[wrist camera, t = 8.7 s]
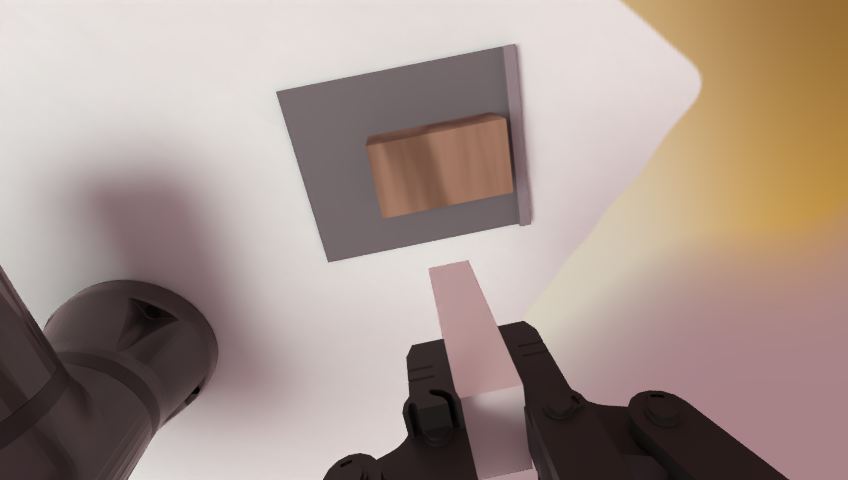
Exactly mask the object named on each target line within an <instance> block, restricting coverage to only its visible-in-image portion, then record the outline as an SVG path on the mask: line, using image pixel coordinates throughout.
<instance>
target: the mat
mask: <svg viewBox="0 0 848 480" xmlns="http://www.w3.org/2000/svg"><path fill="white" fill-rule="evenodd" d="M276 93H277V96H278V100H279V103H280V106H281V110H282V113H283V116H284V119H285V123H286V126H287V129H288V132H289V136H290V139H291V142H292V145H293V149H294V152H295V155H296V159H297V162H298V165H299V168H300V172H301V175H302V178H303V181H304V185H305V188H306V191H307V194H308V198H309V201H310V204H311V208H312V211H313V214H314V217H315V221H316V224H317V227H318V230H319V234H320V237H321V240H322V243H323V247H324V250H325V253H326V257H327V260H328V262H333V261H338V260H342V259H347V258H352V257H357V256H362V255H367V254H372V253H377V252H381V251H386V250H391V249H396V248H401V247H406V246H411V245H416V244H421V243H425V242H430V241H435V240H440V239H445V238H450V237H455V236H460V235H464V234H469V233H474V232H479V231H484V230H489V229H494V228H499V227H503V226H508V225H513V224H519V225H520V226H525V225H530V224H531V219H530V207H529V196H528V184H527V173H526V161H525V150H524V138H523V127H522V115H521V104H520V92H519V81H518V70H517V58H516V47H515V44H513V45H508V46H503V47H498V48H493V49H488V50H483V51H478V52H473V53H468V54H463V55H458V56H453V57H448V58H443V59H438V60H433V61H428V62H423V63H418V64H413V65H408V66H403V67H398V68H393V69H388V70H383V71H378V72H373V73H368V74H363V75H358V76H353V77H347V78H342V79H337V80H332V81H327V82H322V83H317V84H312V85H307V86H302V87H297V88H292V89H287V90H282V91H277V92H276ZM487 112H492V113H494V114H497V115H499V116H502V117H504V118H506V124H507V134H508V144H509V154H510V163H511V173H512V183H513V192H512V193H507V194H503V195H498V196H493V197H488V198H483V199H478V200H473V201H468V202H463V203H458V204H454V205H449V206H444V207H439V208H434V209H429V210H424V211H419V212H414V213H409V214H405V215H400V216H395V217H390V218H385V219H383V218H382V214H381V210H380V206H379V202H378V197H377V193H376V189H375V185H374V181H373V176H372V172H371V168H370V164H369V160H368V155H367V151H366V147H365V146H366V142H367V137H368V136H373V135H378V134H383V133H388V132H393V131H398V130H403V129H408V128H413V127H418V126H423V125H428V124H433V123H438V122H443V121H448V120H453V119H458V118H463V117H467V116H472V115H477V114H482V113H487Z"/></svg>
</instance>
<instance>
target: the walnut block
mask: <svg viewBox="0 0 848 480" xmlns="http://www.w3.org/2000/svg"><path fill="white" fill-rule="evenodd" d="M365 147H366V151H367V155H368V160H369V164H370V168H371V172H372V176H373V181H374V185H375V189H376V193H377V197H378V202H379V206H380V210H381V214H382V218H383V219H385V218H390V217H395V216H400V215H405V214H409V213H414V212H419V211H424V210H429V209H434V208H439V207H444V206H449V205H454V204H458V203H463V202H468V201H473V200H478V199H483V198H488V197H493V196H498V195H503V194H507V193H512V192H513V183H512V173H511V163H510V154H509V144H508V134H507V124H506V118H504V117H502V116H499V115H497V114H494V113H492V112H487V113H482V114H477V115H472V116H467V117H463V118H458V119H453V120H448V121H443V122H438V123H433V124H428V125H423V126H418V127H413V128H408V129H403V130H398V131H393V132H388V133H383V134H378V135H373V136H368V137H367V142H366V146H365Z"/></svg>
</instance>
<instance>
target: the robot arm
mask: <svg viewBox="0 0 848 480" xmlns="http://www.w3.org/2000/svg"><path fill="white" fill-rule="evenodd" d="M428 269H429V274H430V279H431V284H432V289H433V293H434V298H435V303H436V308H437V313H438V318H439V323H440V328H441V333H442V338H443V339H440V340H435V341H430V342H426V343H421V344H416V345H412V347H411V349H410V351H409V353H408V355H407V357H406V358H407V370H408V381H409V383H408V384H409V397H408V399H407V400H406V402H405V403H404V407H403V412H402V413H403V417H404V420H405V424H406V428H407V431H408V436H407V438H406V439H405V441H404V442H403V443H402V444H401V445H400V446H399V447H398V448H396V449H395V450H393V451H392V452H390V453H389V454H387V455H385V456H383V457H381V458H379V459H377V460H376V459H375V458H373V457H372V456H371V455H367V454H362V453H358V454H353V455H348V456H346V457H345V458H343V459H341V460H339V461H337V462H336V463H335V464H334V465H333V466H332V467H331V468H330V469H329V470H328V472H327V474H326V475H325V477H324V479H323V480H481V479H486V478H491V477H495V476H500V475H505V474H510V473H514V472H519V471H524V470H528V469H532V460H533V463H534V465H535V468H536V471H537V473H538V480H789V479H787V478H786V477H785V476H783V475H782V474H781V473H780V472H778V471H777V470H776V469H774V468H773V467H772V466H770V465H769V464H768V463H766V462H765V461H764V460H762V459H761V458H760V457H759V456H757V455H756V454H755V453H753V452H752V451H750V450H749V449H748V448H747V447H745V446H744V445H743V444H741V443H740V442H739V441H737V440H736V439H735V438H734V437H732V436H730V434H728V433H727V432H726V431H724V430H723V429H722V428H720V427H719V426H717V424H715V423H714V422H713V421H711V420H710V419H709V418H707V417H706V416H705V415H703V414H702V413H701V412H699V411H698V410H697V409H696V408H694V407H693V406H691V405H690V404H689V403H688V402H686V401H685V400H683V399H681V398H679V397H678V396H676V395H674V394H670V393H667V392H663V391H651V390H649V391H645V392H640V393H638V394H636V395H635V396H634V397H632V398H631V400H630V403H629V405H628V407H624V406H623V407H622V406H607V405H600V404H595V403H592V402H589V401H587V400H586V399H585V398H584V397H583V396H582V395H581V394H579V393H578V392H576V391H574V390H572V389H571V388H570V386H569V385H568V383H567V381H566V380H565V378H564V376H563V374H562V373H561V371H560V369H559V368H558V366H557V364H556V362H555V361H554V359H553V357H552V356H551V354H550V353H549V351H548V349H547V347H546V345H545V344H544V343H543V340H542V338H541V337H540V335H539V333H538V331H537V330H536V329H535V328H533V327H532V326H531V325H529V324H528V323H526V322H525V321H521V322H516V323H511V324H507V325H502V326H497V325H496V322H495V320H494V318H493V315H492V313H491V311H490V309H489V306H488V304H487V302H486V300H485V297H484V295H483V293H482V290H481V288H480V286H479V284H478V281H477V279H476V277H475V274H474V272H473V270H472V268H471V265H470V263H469V261H468V260H467V261H462V262H457V263H452V264H448V265H443V266H438V267H433V268H428ZM217 357H218V349H217V343H216V339H215V336H214V333H213V331H212V329H211V327H210V325H209V324H208V322H207V321H206V319H205V318H204V317H203V315H202V314H201V313H200V312H199V311H198V310H197V309H196V308H195V307H194V306H193V305H191V304H190V303H189V302H187V301H186V300H185V299H183V298H182V297H180V296H178V295H177V294H175V293H173V292H171V291H169V290H166V289H164V288H161V287H158V286H155V285H152V284H148V283H143V282H137V281H110V282H104V283H100V284H96V285H93V286H91V287H88V288H86V289H84V290H82V291H81V292H79V293H78V294H76V295H75V296H74V297H72V298H71V299H70V300H68V301H67V302H66V303H64V304H63V305H62V306H60V307H59V308H58V309H57V310H56V311H55V312H54V313H53V315H52V316H51V317H50V318H49V320H48V321H47V323H46V325H45V328H44V330H43V332H42V330H41V329H40V327H39V326H38V324H37V323H36V321H35V320H34V318H33V317H32V315H31V313H30V312H29V310H28V309H27V307H26V306H25V304H24V303H23V301H22V300H21V298H20V296H19V295H18V293H17V292H16V290H15V288H14V287H13V285H12V283H11V282H10V280H9V279H8V277H7V275H6V274H5V272H4V270H3V269H2V267H1V265H0V480H127V479H128V478H129V476H130V474H131V473H132V471H133V469H134V468H135V466H136V464H137V463H138V461H139V459H140V458H141V456H142V454H143V453H144V451H145V449H146V448H147V446H148V444H149V443H150V441H151V439H152V438H153V436H154V435H155V433H156V432H157V431H158V430H159V429H160V428H161V427H162V426H164V425H165V424H166V423H167V422H168V421H170V420H171V419H172V418H173V417H175V416H176V415H177V414H178V413H179V412H181V411H182V410H183V409H184V408H185V407H187V406H188V405H189V404H190V403H192V402H193V401H194V400H195V399H196V398H197V397H198V396H199V394H200V393H201V392H202V391H203V389H204V388H205V386H206V384H207V383H208V381H209V379H210V377H211V375H212V374H213V372H214V369H215V367H216V363H217ZM531 457H532V459H531Z"/></svg>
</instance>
